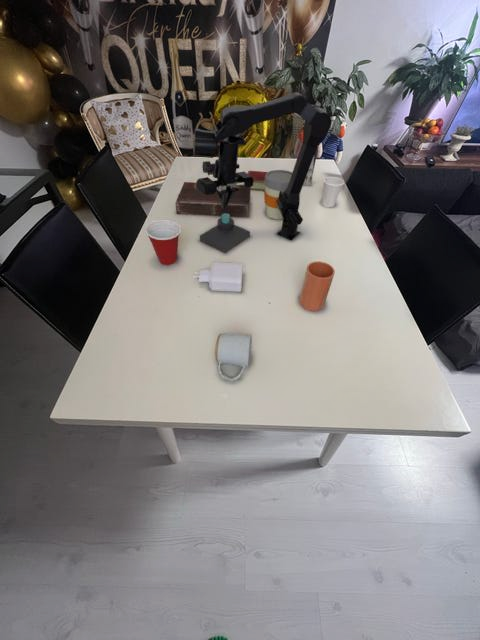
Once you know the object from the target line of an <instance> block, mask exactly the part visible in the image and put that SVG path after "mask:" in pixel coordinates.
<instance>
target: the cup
mask: <svg viewBox="0 0 480 640" xmlns="http://www.w3.org/2000/svg"><path fill="white" fill-rule="evenodd" d="M334 276H335V268H334V267H333V266H332V265H331V264H330V263H327V262H324V261H312V262H310V263H309V264H307V266H306V270H305V274H304V278H303V282H302V283H303V284H302V287H301V291H300V295H299V301H298V302H299V305H300V306H301V308H303V309H305V310H307V311H310V312H318V311H320V310H322V309H323V308H324V306H325V304H326V300H327V298H328V294H329V292H330V288H331V285H332V282H333V279H334Z"/></svg>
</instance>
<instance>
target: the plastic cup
mask: <svg viewBox="0 0 480 640" xmlns="http://www.w3.org/2000/svg"><path fill="white" fill-rule="evenodd" d="M144 231H145V234H146V235H147V237H148V238H149V241H150V243H151V245H152V248H153V251H154V252H155V255H156V257H157V259H158V261H159V263H160V264H161V265H164V266H170V265H174V264H175V263H176V262H177V260H178V251H179V237H180V234H181V231H182V227H181V225H180V224H178V222H176V221H173V220H170V219H155V220H153V221H149V222H148V224H146V225H145V227H144Z"/></svg>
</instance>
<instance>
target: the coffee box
mask: <svg viewBox="0 0 480 640" xmlns="http://www.w3.org/2000/svg"><path fill="white" fill-rule="evenodd" d="M302 143H303V141H301V143H300V149H301V146H302ZM318 151H319V146H318V147H317V149H316V151H315V154H314V157H313V160H312V162H311V165H310V168H309V170H308V173H307V176H306V178H305V181H304V184H303V186H309V187H310V186H311V185H312V180H313V176H314V170H315V165H316V162H317V156H318Z"/></svg>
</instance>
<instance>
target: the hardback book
mask: <svg viewBox="0 0 480 640" xmlns="http://www.w3.org/2000/svg"><path fill="white" fill-rule="evenodd" d="M237 188H238V189H239V191H238V192H236V194H235V195H234V196H233V198H232V199H231V200H230V202H229V204H228V205H227V207H226V208H225V209H223V208H222V207H221V203H220V199H219V196H218V193H217V191H216V192H215V194H210V195H205V194H204V193H202V192H201V191H200V190H199V189H197V188H196V182H194V181H193V182H192V181H184V182H183V183H182V186H181V189H180V191H179V193H178V196H177V198H176V200H175V212H176V214H177V215H192V216H209V217H210V216H211V217H222V214H225V213H227V214H229V215H230V218H250V217H249V216H250V204H251V195H252V193H251V191H252V190H251V187H245V185H244V184H237Z"/></svg>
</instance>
